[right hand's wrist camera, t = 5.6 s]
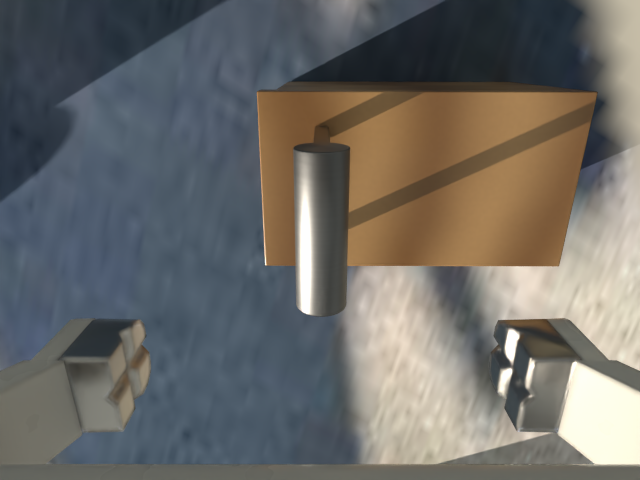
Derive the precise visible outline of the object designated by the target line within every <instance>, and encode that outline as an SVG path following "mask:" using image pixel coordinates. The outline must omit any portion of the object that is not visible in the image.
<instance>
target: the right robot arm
mask: <svg viewBox="0 0 640 480" xmlns="http://www.w3.org/2000/svg"><path fill="white" fill-rule="evenodd" d="M145 338H146V331H145V327H144V323H143V322H142V321H141V320H136V319H95V318H91V319H73V320H70V321H69V322H68V323H67V324H66V325H65V326H64V327H63V328H62V329H61V330H60V331H59V332H58V333H57V334H56V335H55V336H54V337H53V338H52V339H51V340H50V341H49V342H48V343H47V344H46V346H45V347H44V348H43V349H42V350H41V351H40V352H39V353H38V354H37V355H36V356H35V357H34V358H33V359H32V360H28V361H21V362H19V363H17V364H15V365H13V366H10V367H8V368H6V369H4V370H2V371H0V480H640V371H638V370H636V369H634V368H632V367H630V366H627V365H625V364H623V363H621V362H619V361H613V360H608V359H607V358H606V357H605V356H604V355H603V354H602V353H601V352H600V351H599V350H598V349H597V347H596V346H595V345H594V344H593V343H592V342H591V341H590V340H589V339H588V338H587V337H586V336H585V335H584V334H583V333H582V332H581V331H580V330H579V329H578V328H577V327H576V326H575V325H574V324H573V323H572V322H571V321H570V320H568V319H565V318H558V319H529V320H498V322H497V324H496V326H495V331H494V338H495V339H496V341H497V342H498V344H499V345H498V346H497V347H496V348H495V349H494V350H493V351H492V352H491V354H490V362H489V370H490V378H491V382H492V385H493V387H494V389H495V391H496V393H497V394H498V395H499V396H501V397H502V398H504V399H505V400H506V403H505V410H506V412H507V414H508V416H509V418H510V419H511V421H512V423H513V425H514V427H515V429H516V430H517V431H521V432H557V433H558V435H559V436H560V437H562V438H563V439H564V440H565V441H567V442H568V443H569V444H570V445H572V446H573V447H574V448H575V449H577V450H578V451H579V452H580V453H582V454H583V455H584V456H585V457H587V458H588V459H589V460H590V461H592V462H593V463H594V464H46V463H47V462H48V461H50V460H51V459H52V458H53V457H55V456H56V455H57V454H59V453H60V452H61V451H62V450H64V449H65V448H66V447H67V446H69V445H70V444H71V443H72V442H74V441H75V440H76V439H77V438H79V437H80V436H81V435H82V433H83V432H118V431H124V429H125V427H126V425H127V423H128V421H129V419H130V418H131V416H132V414H133V412H134V410H135V403H134V400H135V399H136V398H138V397H139V396H141V395H142V394H143V393H144V391H145V389H146V387H147V385H148V382H149V377H150V373H151V360H150V354H149V352H148V351H147V350H146V349H145V348H144V347H143V346H142V345H141V344H142V343H143V341H144V339H145Z"/></svg>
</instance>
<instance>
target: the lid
mask: <svg viewBox="0 0 640 480" xmlns="http://www.w3.org/2000/svg"><path fill="white" fill-rule="evenodd" d="M596 98H597V92H594V91H585V90H259V91H257V103H258V124H259V144H260V165H261V185H262V206H263V227H264V247H265V265H287V266H296V304H297V307H298V309H299V310H300V311H302V312H303V313H305V314H308V315H311V316H318V317H325V316H332V315H335V314H338V313H340V312H341V311H342V310H344V308H345V307H346V293H347V266H559V264H560V259H561V255H562V250H563V246H564V241H565V237H566V232H567V228H568V223H569V219H570V214H571V210H572V205H573V201H574V196H575V192H576V187H577V183H578V178H579V174H580V169H581V165H582V160H583V156H584V152H585V147H586V143H587V138H588V134H589V129H590V125H591V120H592V116H593V111H594V107H595V102H596Z"/></svg>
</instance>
